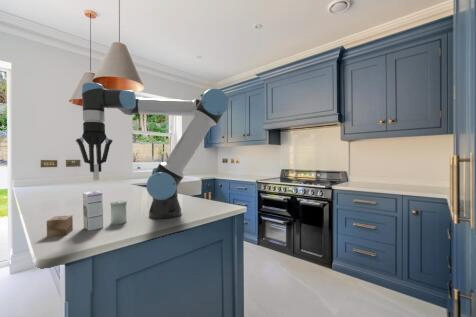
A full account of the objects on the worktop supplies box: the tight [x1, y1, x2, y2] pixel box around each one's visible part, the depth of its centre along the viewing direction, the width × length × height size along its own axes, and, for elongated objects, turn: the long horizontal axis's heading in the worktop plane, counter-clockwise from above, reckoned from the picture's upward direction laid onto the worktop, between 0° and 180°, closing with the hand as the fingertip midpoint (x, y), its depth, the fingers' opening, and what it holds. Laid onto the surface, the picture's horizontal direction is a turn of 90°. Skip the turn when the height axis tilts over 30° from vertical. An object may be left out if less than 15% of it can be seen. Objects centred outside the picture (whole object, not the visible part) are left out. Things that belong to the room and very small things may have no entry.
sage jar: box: [109, 200, 128, 225], centre depth 101 cm, size 6×6×9 cm
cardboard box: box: [46, 215, 74, 238], centre depth 87 cm, size 6×6×6 cm
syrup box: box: [82, 190, 104, 231], centre depth 94 cm, size 6×6×14 cm
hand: (96, 180), depth 95 cm, fingers closed
